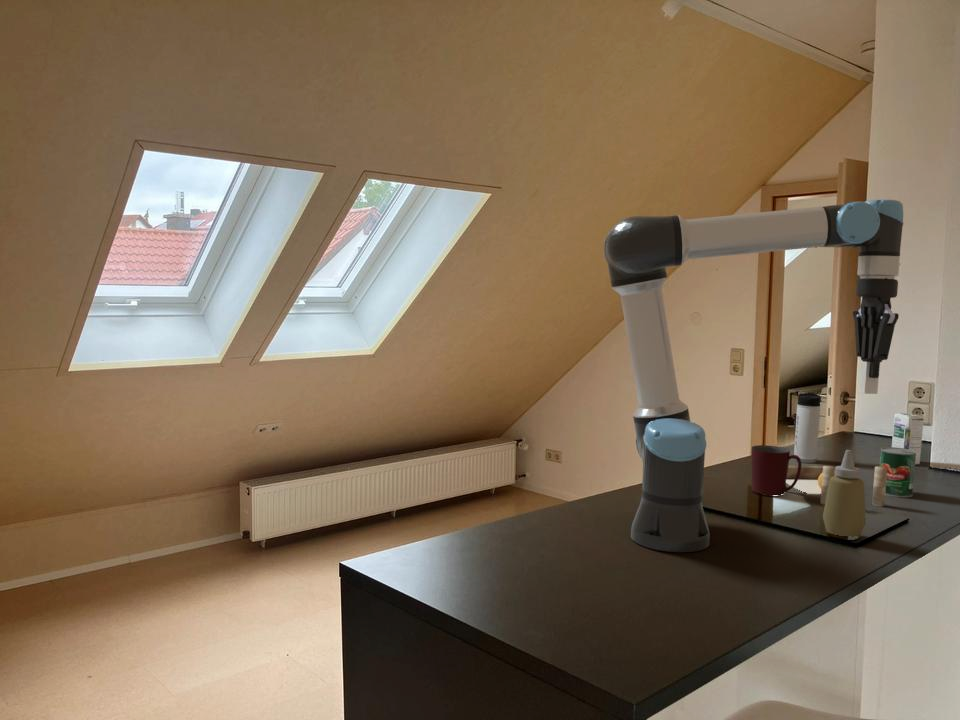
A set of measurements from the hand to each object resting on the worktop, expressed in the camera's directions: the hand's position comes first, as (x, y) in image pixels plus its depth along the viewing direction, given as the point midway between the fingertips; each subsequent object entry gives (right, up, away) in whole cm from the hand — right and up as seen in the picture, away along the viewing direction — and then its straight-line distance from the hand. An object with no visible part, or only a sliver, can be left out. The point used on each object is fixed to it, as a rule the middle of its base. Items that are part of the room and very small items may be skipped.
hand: (869, 393), depth 163 cm
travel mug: (+16, -23, +72) cm, 77 cm away
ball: (+7, -24, +35) cm, 43 cm away
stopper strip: (+6, -25, +50) cm, 56 cm away
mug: (-8, -26, +32) cm, 42 cm away
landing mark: (+7, -26, +40) cm, 48 cm away
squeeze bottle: (-6, -30, 0) cm, 30 cm away
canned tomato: (+24, -27, +36) cm, 51 cm away
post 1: (+2, -27, +24) cm, 36 cm away
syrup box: (+46, -24, +73) cm, 89 cm away
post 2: (+14, -28, +25) cm, 40 cm away
